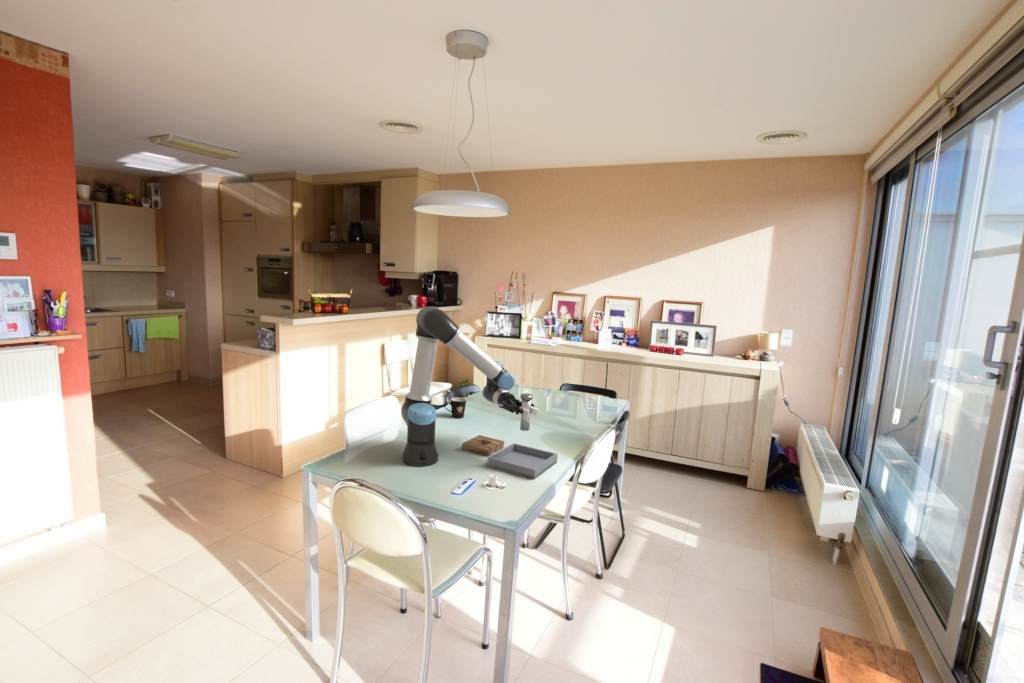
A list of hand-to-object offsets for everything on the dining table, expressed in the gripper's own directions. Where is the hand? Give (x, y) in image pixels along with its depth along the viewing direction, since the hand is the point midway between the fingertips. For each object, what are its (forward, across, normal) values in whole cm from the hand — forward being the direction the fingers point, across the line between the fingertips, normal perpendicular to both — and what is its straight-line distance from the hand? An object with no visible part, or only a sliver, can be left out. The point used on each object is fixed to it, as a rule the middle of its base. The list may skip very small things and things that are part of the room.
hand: (533, 413), depth 208 cm
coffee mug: (-78, -2, -24) cm, 82 cm away
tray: (-5, 0, -24) cm, 24 cm away
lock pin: (-5, 0, -8) cm, 10 cm away
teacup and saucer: (+11, +23, -25) cm, 36 cm away
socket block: (-28, +7, -24) cm, 38 cm away
